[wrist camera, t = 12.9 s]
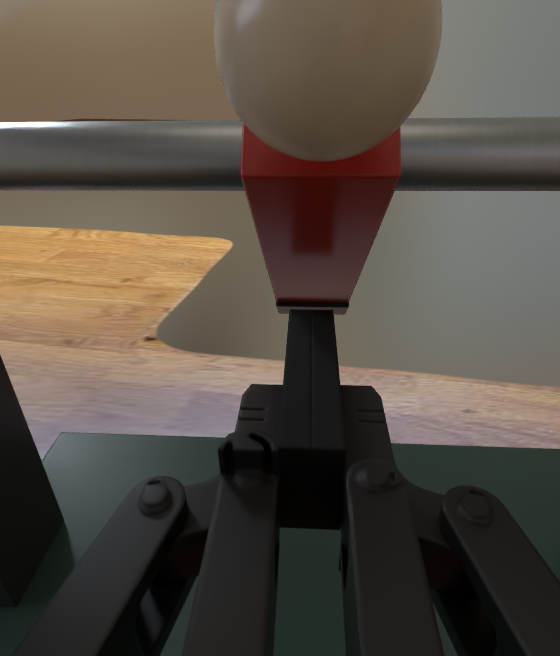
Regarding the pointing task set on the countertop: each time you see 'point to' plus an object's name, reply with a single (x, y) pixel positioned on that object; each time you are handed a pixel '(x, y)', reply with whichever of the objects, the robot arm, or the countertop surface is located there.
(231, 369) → the countertop surface
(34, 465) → the foosball frame
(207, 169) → the foosball rod
